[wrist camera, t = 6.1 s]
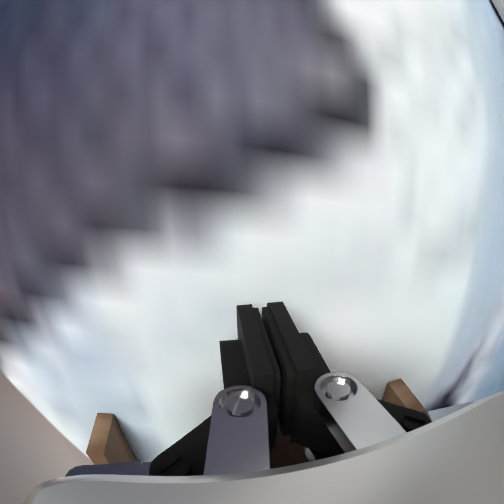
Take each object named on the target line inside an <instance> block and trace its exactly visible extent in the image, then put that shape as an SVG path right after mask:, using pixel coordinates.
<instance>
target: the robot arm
mask: <svg viewBox="0 0 504 504" xmlns="http://www.w3.org/2000/svg"><path fill="white" fill-rule="evenodd" d="M492 2H493V4H494V6H495V8H496V10H497V11H498V13H499V15H500V17H501V19H502V21H503V22H504V0H492ZM237 329H238V340H228V341H220V353H221V364H222V374H223V383H224V390H222V391H220V392H219V393H218V394H217V396H216V397H215V400H214V402H213V410H212V415H211V416H210V417H208V418H207V419H206V420H205V421H203V422H202V423H201V424H200V425H198V426H197V427H196V428H194V429H193V430H192V431H191V432H189V433H188V434H187V435H185V436H184V437H183V438H181V439H180V440H179V441H177V442H176V443H175V444H173V445H172V446H171V447H169V448H168V449H166V450H165V451H164V452H162V453H161V454H159V455H158V456H157V457H156V458H155V459H154V460H153V461H152V462H148V463H142V461H141V460H139V461H131V462H122V463H112V464H99V465H82V466H77V467H75V468H73V469H71V470H69V472H68V473H67V474H66V476H65V477H63V478H57V479H53V480H49V481H46V482H43V483H41V484H39V485H37V486H35V487H34V488H33V489H32V490H31V491H30V492H29V493H28V495H27V496H26V498H25V499H24V501H23V503H22V504H504V391H502V392H499V393H495V394H493V395H490V396H488V397H485V398H482V399H480V400H478V401H476V402H468V403H464V404H460V405H456V406H451V407H446V408H442V409H437V410H431V411H427V413H426V415H425V414H424V413H422V412H419V411H417V410H413V409H409V408H406V407H402V406H399V405H395V404H392V403H388V402H385V401H382V400H378V399H376V398H375V397H374V396H373V395H372V394H371V393H370V392H369V391H368V390H367V389H366V387H365V386H364V385H363V384H362V383H361V382H360V381H359V380H358V379H357V378H356V377H354V376H352V375H350V374H347V373H343V372H332V373H331V372H330V370H329V369H328V367H327V365H326V363H325V361H324V360H323V358H322V356H321V354H320V353H319V351H318V349H317V347H316V346H315V344H314V342H313V340H312V338H311V337H310V335H309V334H308V333H299V332H298V330H297V328H296V326H295V325H294V323H293V321H292V319H291V317H290V315H289V313H288V311H287V309H286V307H285V305H284V303H283V302H273V303H267V307H262V318H261V315H260V313H259V310H258V308H253V307H252V304H250V305H237ZM277 427H279V431H280V434H281V436H287V438H288V442H289V444H291V443H297V444H299V445H301V446H304V452H305V455H306V456H307V458H308V460H309V462H306V463H302V464H296V465H291V466H285V467H280V468H273V469H270V461H269V453H270V452H271V451H272V449H273V448H274V447H275V443H276V437H277Z"/></svg>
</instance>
